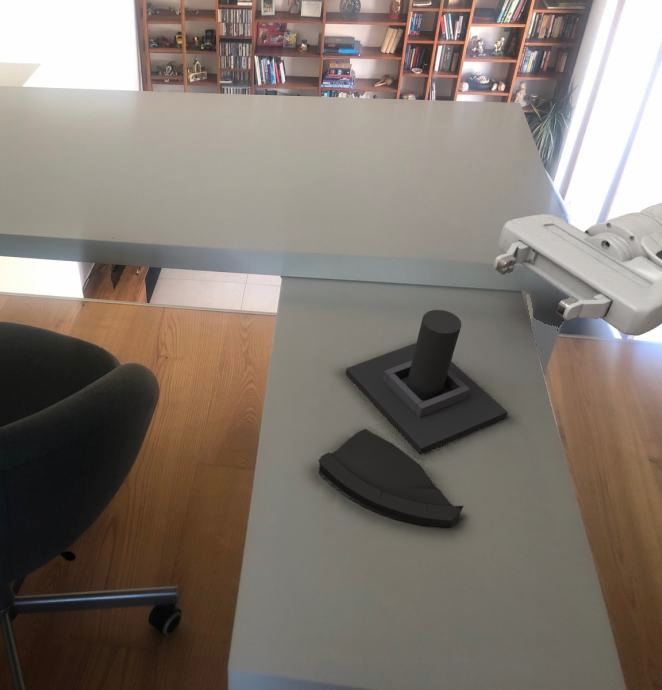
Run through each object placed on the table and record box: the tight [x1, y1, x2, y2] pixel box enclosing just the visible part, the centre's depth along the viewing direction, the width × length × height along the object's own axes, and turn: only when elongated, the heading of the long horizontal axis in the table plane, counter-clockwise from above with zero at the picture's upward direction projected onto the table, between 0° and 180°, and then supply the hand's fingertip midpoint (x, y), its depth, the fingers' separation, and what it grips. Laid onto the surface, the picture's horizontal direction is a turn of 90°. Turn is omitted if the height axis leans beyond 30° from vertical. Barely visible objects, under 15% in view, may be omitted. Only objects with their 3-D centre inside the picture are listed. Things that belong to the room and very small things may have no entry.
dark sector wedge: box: [318, 428, 465, 528], centre depth 70 cm, size 8×14×2 cm, turn 41°
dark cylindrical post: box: [406, 309, 462, 400], centre depth 77 cm, size 4×4×10 cm
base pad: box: [345, 342, 508, 455], centre depth 80 cm, size 14×12×2 cm
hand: (529, 287), depth 77 cm, fingers open, 8 cm apart
